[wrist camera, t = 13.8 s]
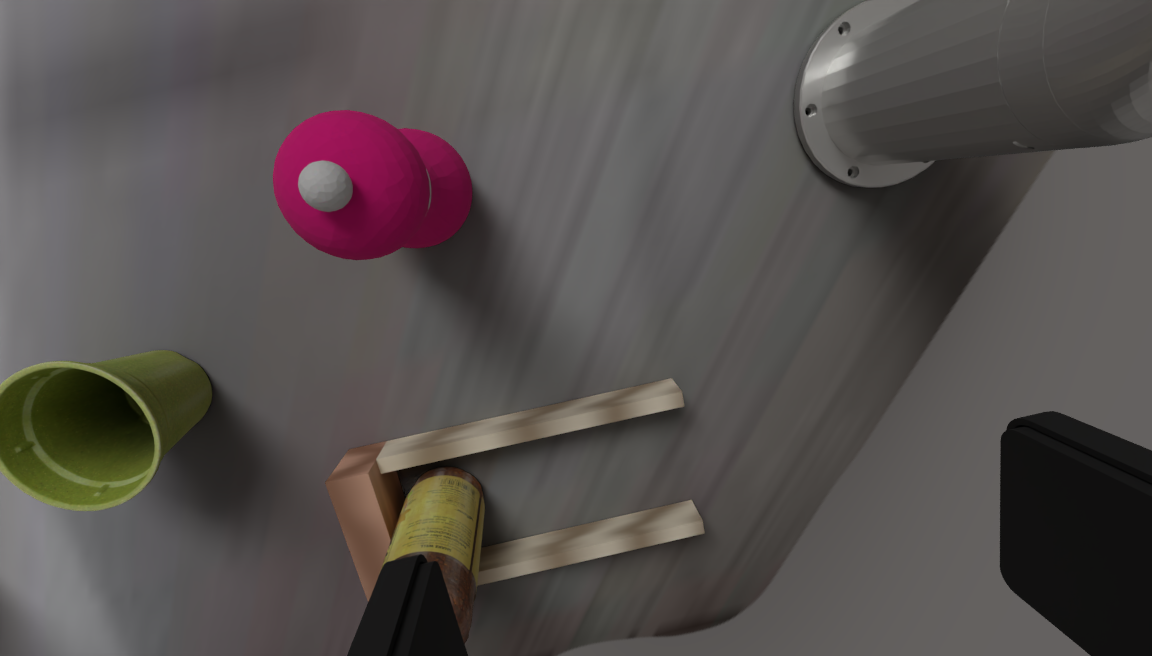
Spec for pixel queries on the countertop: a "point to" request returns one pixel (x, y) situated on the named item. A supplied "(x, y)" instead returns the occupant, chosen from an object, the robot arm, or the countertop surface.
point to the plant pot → (97, 425)
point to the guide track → (373, 486)
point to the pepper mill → (369, 185)
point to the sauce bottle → (445, 533)
